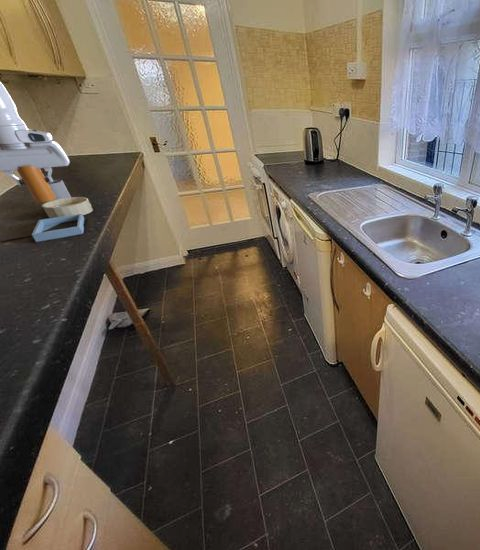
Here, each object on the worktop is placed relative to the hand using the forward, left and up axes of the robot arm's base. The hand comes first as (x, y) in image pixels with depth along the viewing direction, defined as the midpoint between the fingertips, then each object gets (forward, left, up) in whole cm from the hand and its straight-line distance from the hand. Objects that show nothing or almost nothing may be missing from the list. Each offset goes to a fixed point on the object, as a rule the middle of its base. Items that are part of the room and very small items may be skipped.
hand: (36, 183), depth 94 cm
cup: (-3, +32, -16) cm, 36 cm away
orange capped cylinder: (0, 0, -5) cm, 5 cm away
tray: (0, 0, -16) cm, 16 cm away
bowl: (+1, +18, -16) cm, 24 cm away
